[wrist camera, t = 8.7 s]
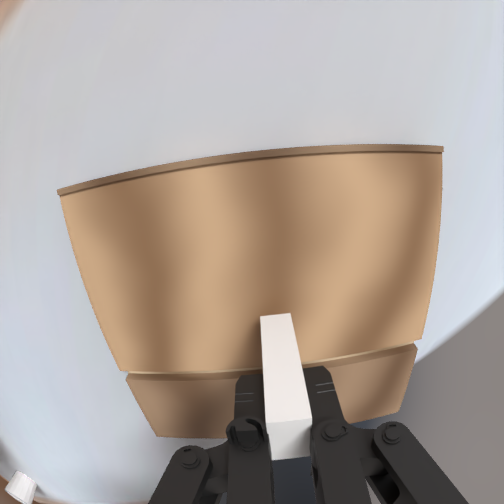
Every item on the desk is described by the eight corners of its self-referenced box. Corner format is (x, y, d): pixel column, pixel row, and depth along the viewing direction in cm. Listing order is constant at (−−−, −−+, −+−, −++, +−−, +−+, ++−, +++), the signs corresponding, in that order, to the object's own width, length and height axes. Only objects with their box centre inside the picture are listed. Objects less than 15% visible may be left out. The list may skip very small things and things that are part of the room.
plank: (125, 359, 18) (119, 372, 17) (69, 185, 14) (56, 190, 13) (414, 328, 18) (422, 340, 16) (429, 144, 13) (443, 146, 12)
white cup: (27, 475, 33) (18, 497, 26) (44, 489, 35) (36, 511, 29) (9, 465, 33) (-1, 486, 26) (25, 480, 35) (16, 500, 29)
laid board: (159, 426, 21) (156, 436, 20) (128, 364, 19) (123, 375, 18) (393, 401, 21) (398, 411, 20) (411, 334, 18) (418, 344, 17)
